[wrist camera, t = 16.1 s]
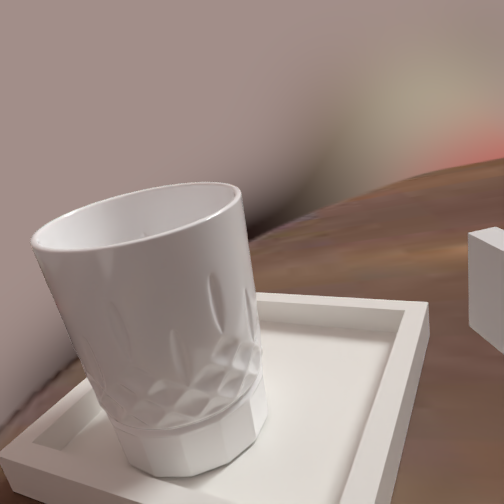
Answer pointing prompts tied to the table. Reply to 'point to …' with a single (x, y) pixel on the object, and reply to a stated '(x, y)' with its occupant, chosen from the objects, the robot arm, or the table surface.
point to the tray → (276, 425)
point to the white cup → (163, 320)
